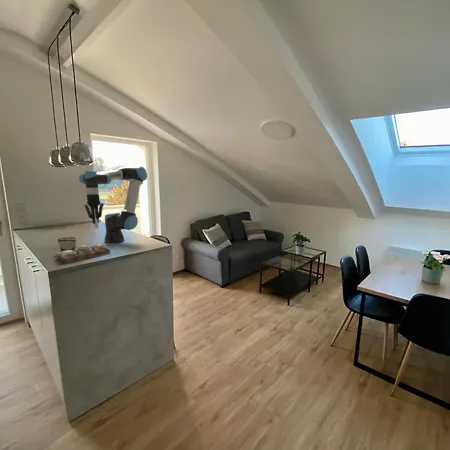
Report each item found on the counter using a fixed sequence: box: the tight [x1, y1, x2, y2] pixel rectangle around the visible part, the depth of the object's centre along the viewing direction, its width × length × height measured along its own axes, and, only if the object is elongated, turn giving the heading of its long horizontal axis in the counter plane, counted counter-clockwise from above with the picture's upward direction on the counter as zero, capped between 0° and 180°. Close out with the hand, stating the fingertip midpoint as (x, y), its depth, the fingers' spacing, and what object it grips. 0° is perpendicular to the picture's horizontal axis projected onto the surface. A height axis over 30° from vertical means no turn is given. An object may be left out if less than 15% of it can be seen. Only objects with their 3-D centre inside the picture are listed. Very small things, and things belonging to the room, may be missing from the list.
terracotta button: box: [93, 243, 104, 248], centre depth 185 cm, size 6×6×2 cm
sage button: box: [77, 244, 89, 251], centre depth 178 cm, size 6×6×2 cm
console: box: [55, 244, 111, 265], centre depth 178 cm, size 29×14×5 cm, turn 139°
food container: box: [57, 236, 77, 252], centre depth 188 cm, size 12×6×10 cm, turn 92°
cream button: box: [62, 250, 72, 255], centre depth 170 cm, size 6×6×2 cm
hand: (96, 227), depth 183 cm, fingers closed
